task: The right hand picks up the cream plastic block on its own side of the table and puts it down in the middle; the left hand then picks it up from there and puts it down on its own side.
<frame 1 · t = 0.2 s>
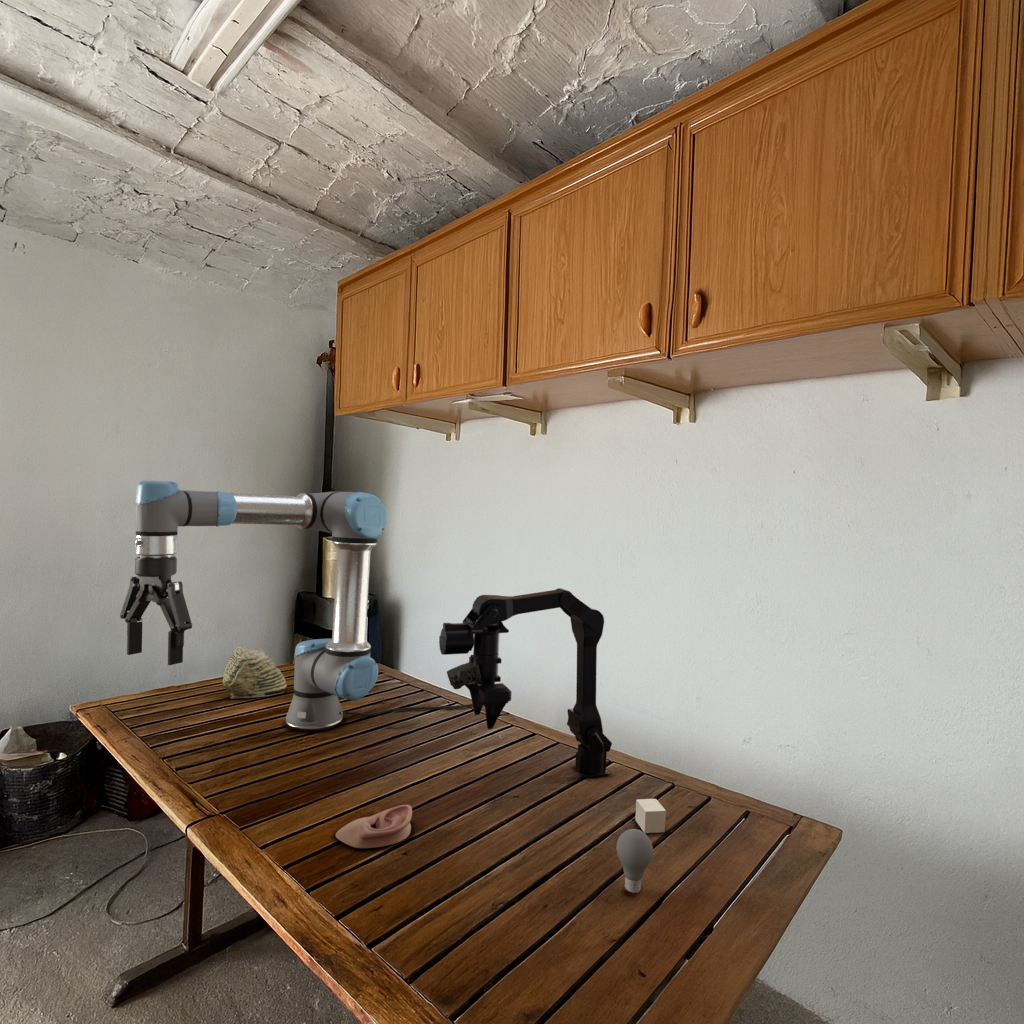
left hand: (154, 658, 131), 29 cm above the table, tool pointing down, fingers open, 13 cm apart
right hand: (483, 721, 142), 14 cm above the table, tool pointing down, fingers open, 9 cm apart
block: (649, 826, 128), on the table
fossil: (254, 694, 198), on the table
anatomical model: (374, 834, 120), on the table
light bulb: (632, 891, 106), on the table
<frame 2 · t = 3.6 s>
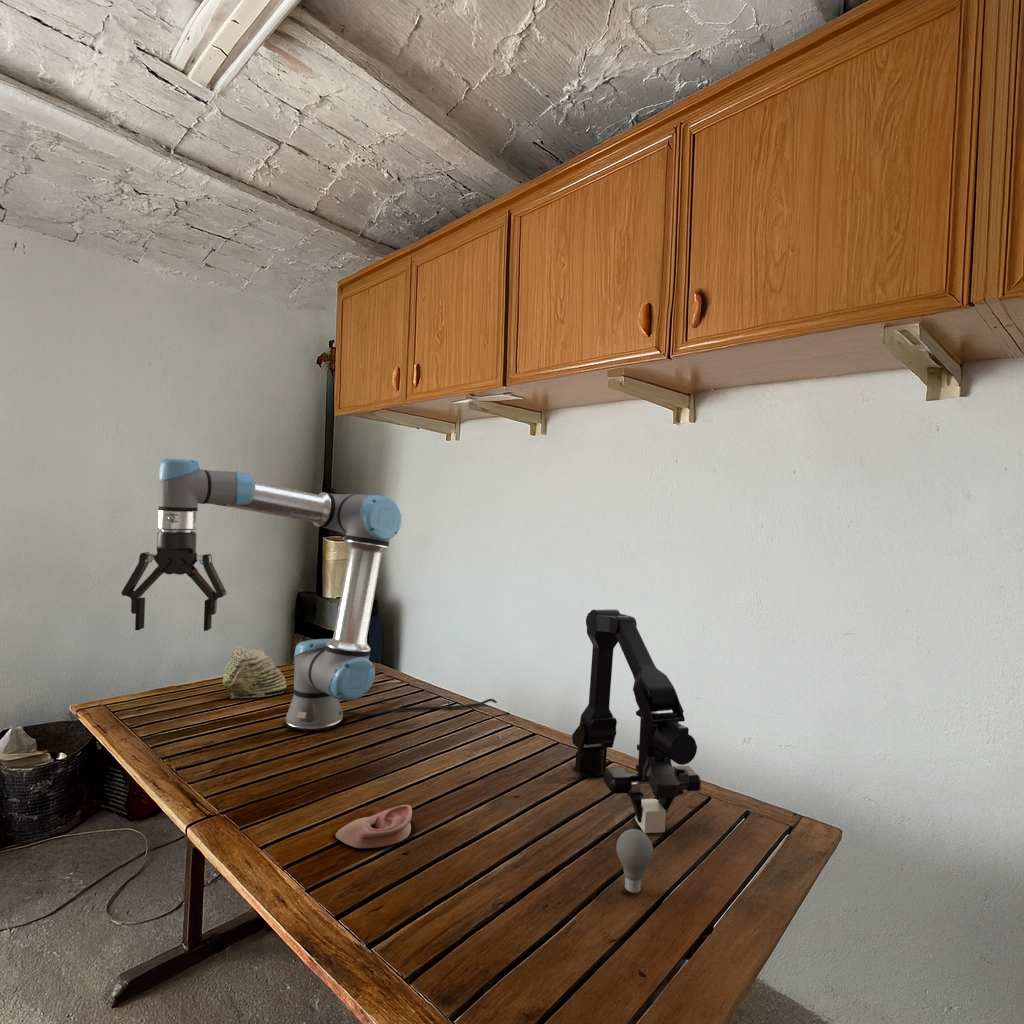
left hand: (173, 629, 136), 33 cm above the table, tool pointing down, fingers open, 13 cm apart
right hand: (649, 821, 128), 1 cm above the table, tool pointing down, fingers closed on block, 4 cm apart
block: (649, 826, 128), on the table, touching right hand
everything else where it was.
when the right hand's fingers open (2 cm above the table, at t = 9.0 s): block stays where it is, on the table.
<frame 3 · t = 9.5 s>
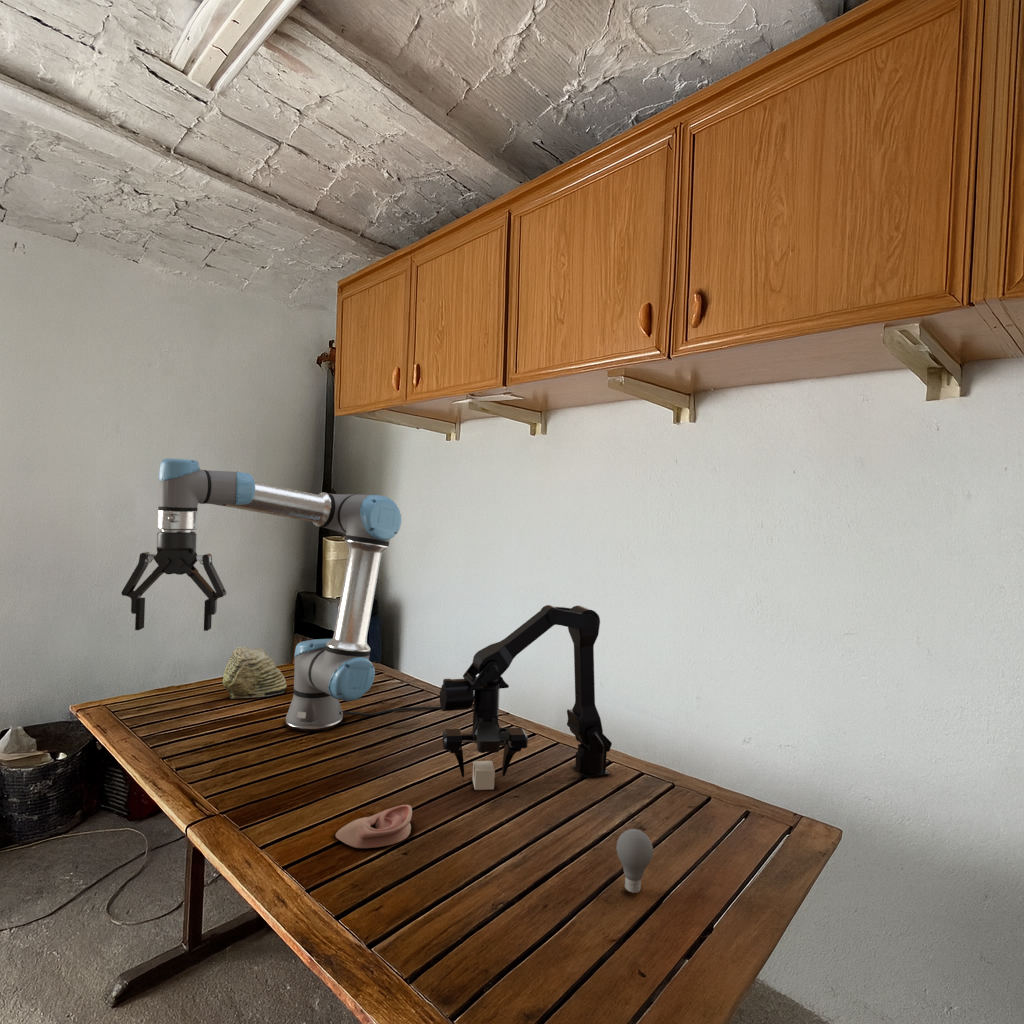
left hand: (173, 629, 136), 33 cm above the table, tool pointing down, fingers open, 13 cm apart
right hand: (483, 776, 143), 2 cm above the table, tool pointing down, fingers open, 9 cm apart
block: (483, 784, 143), on the table
everything else where it was.
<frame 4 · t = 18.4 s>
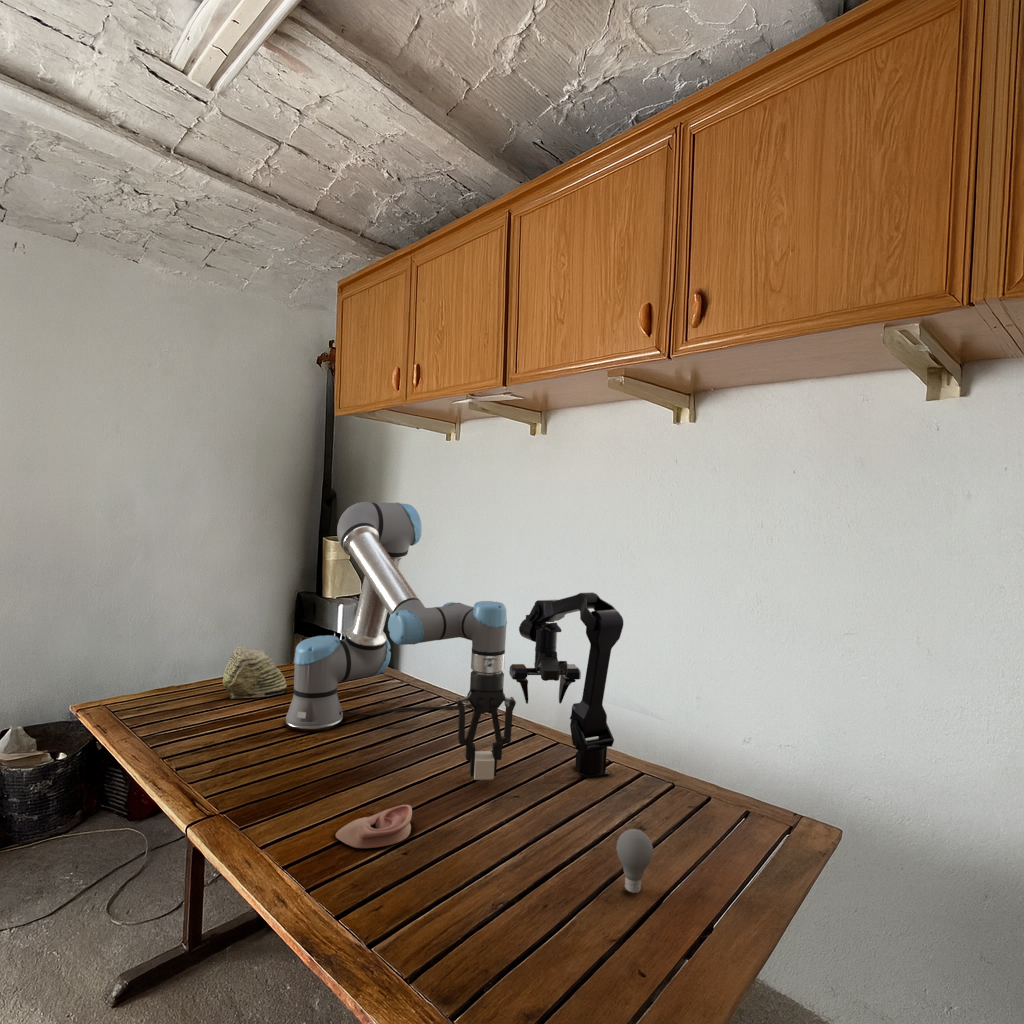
left hand: (482, 773, 143), 2 cm above the table, tool pointing down, fingers closed on block, 4 cm apart
right hand: (543, 703, 172), 10 cm above the table, tool pointing down, fingers open, 9 cm apart
block: (482, 774, 143), point 2 cm above the table, touching left hand
everything else where it was.
when the left hand's fingers open (0 cm above the table, at t = 22.1 s): block stays where it is, on the table.
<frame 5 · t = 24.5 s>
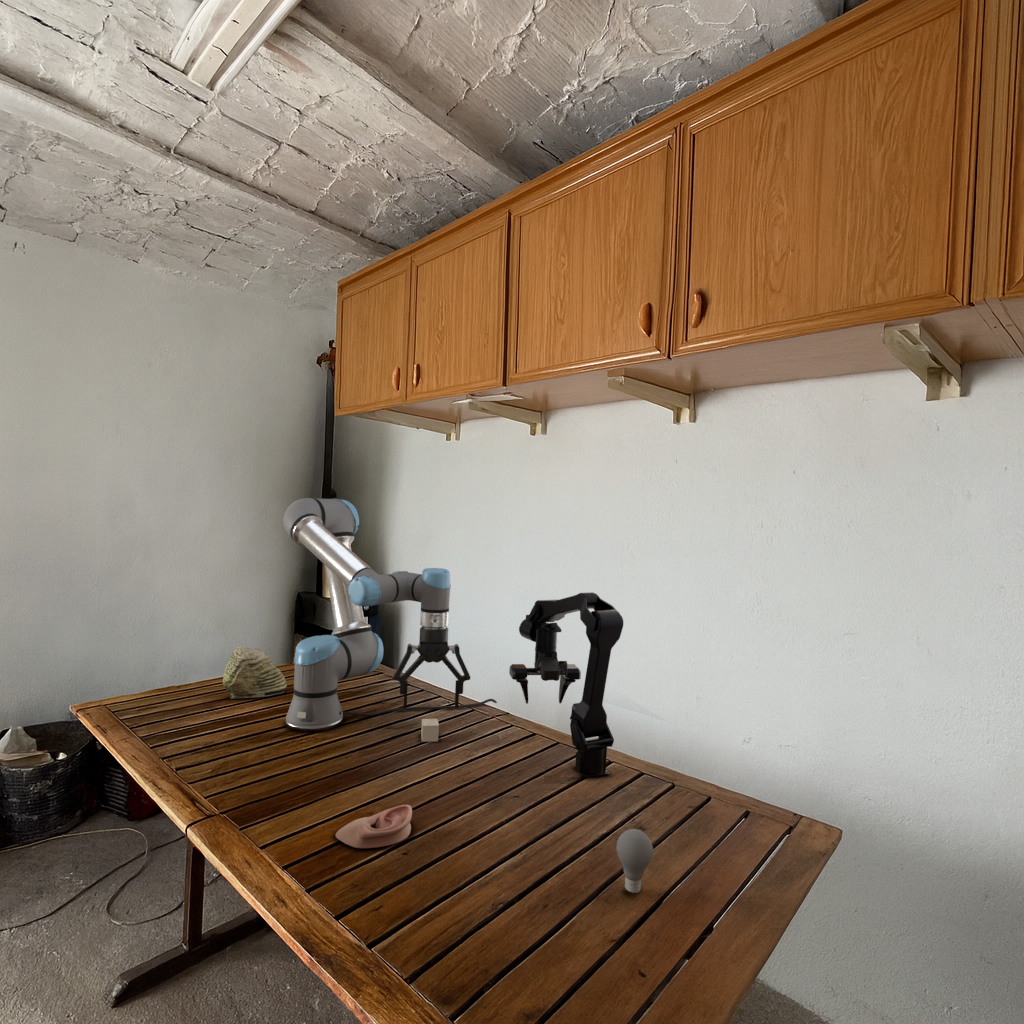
left hand: (430, 706, 169), 9 cm above the table, tool pointing down, fingers open, 13 cm apart
right hand: (543, 703, 172), 10 cm above the table, tool pointing down, fingers open, 9 cm apart
block: (429, 738, 169), on the table
everything else where it was.
at the end: block inside the target area (0.1 cm from its centre), on the table; block tilted 0°; the two hands never held the block at the same time; the left hand is holding nothing; the right hand is holding nothing; block at rest at the end (0.0 cm/s) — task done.
